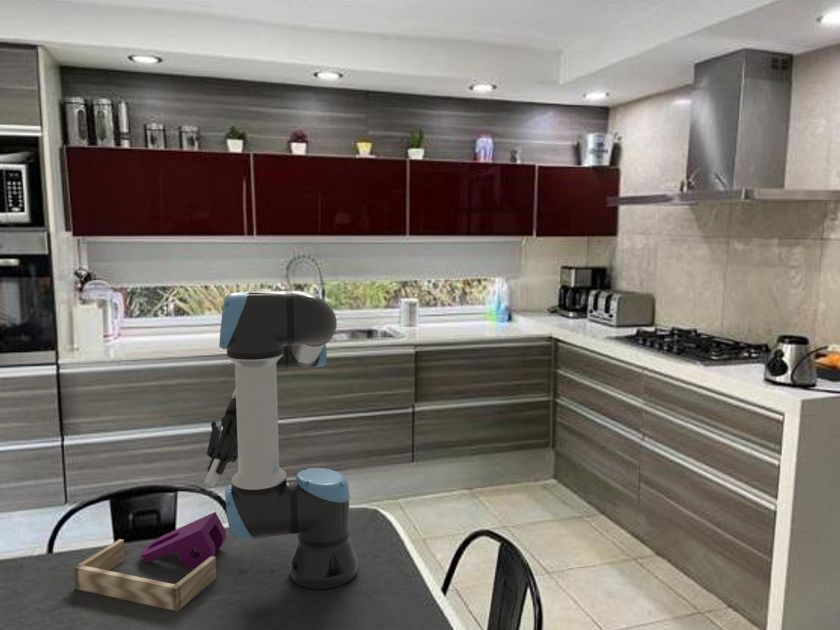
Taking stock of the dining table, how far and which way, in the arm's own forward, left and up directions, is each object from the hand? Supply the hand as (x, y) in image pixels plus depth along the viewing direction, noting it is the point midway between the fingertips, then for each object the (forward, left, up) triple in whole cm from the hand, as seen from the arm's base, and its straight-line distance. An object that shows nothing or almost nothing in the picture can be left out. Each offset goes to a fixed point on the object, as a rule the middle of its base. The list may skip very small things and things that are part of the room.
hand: (209, 485), depth 160 cm
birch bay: (0, +23, -14) cm, 26 cm away
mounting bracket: (0, +11, -14) cm, 18 cm away
